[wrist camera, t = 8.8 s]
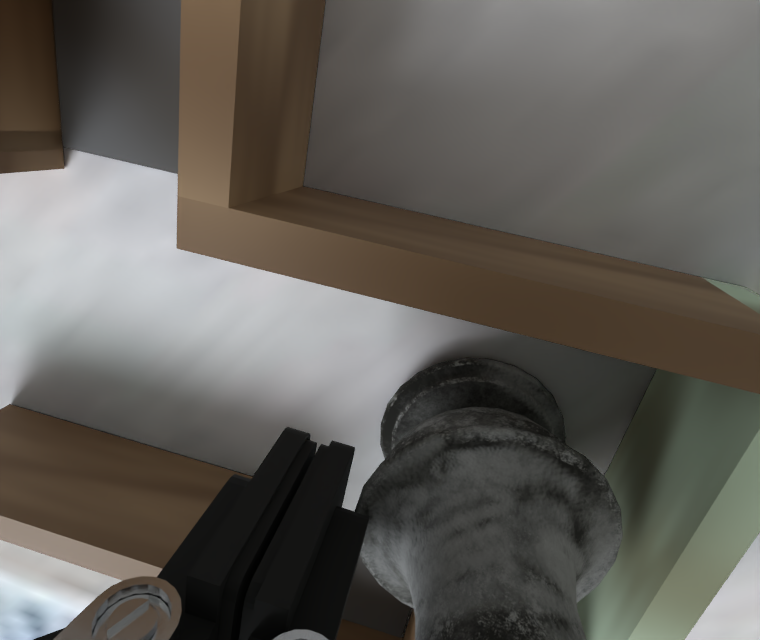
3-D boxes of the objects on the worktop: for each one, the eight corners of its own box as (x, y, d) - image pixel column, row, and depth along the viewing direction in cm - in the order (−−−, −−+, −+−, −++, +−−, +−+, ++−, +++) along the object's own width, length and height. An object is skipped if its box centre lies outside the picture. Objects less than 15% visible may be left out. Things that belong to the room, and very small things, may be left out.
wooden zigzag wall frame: (-71, -143, 11) (-344, -281, 7) (889, 18, 9) (1177, -65, 5) (29, 532, 20) (-74, 623, 16) (527, 697, 18) (541, 845, 14)
